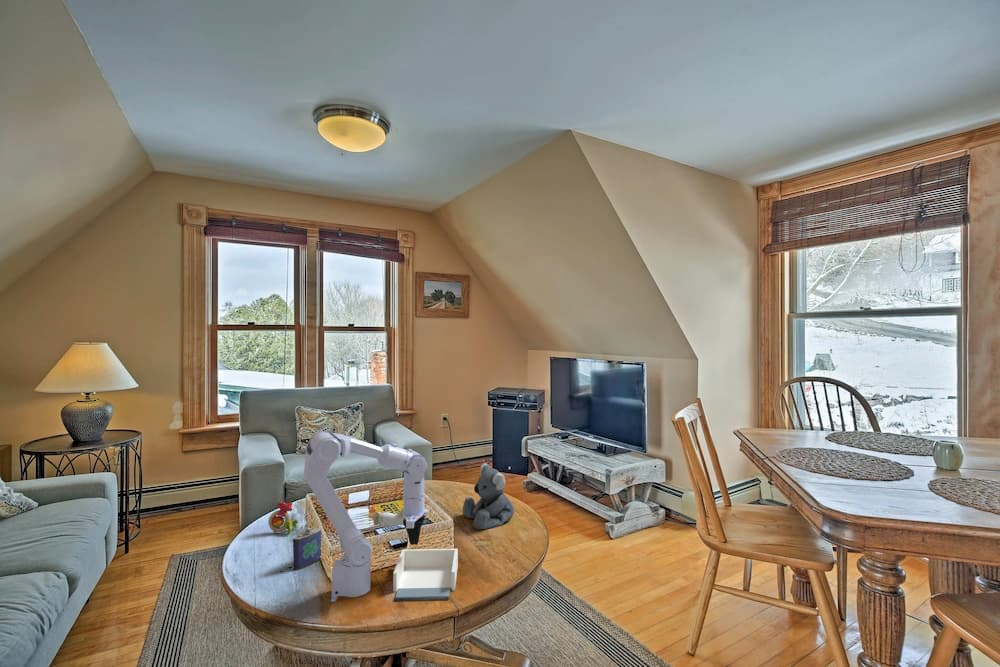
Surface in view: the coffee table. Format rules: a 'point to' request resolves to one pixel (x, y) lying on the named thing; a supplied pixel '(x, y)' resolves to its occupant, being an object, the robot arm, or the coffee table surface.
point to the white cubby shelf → (426, 569)
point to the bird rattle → (278, 521)
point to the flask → (307, 548)
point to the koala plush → (489, 500)
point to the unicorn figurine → (389, 518)
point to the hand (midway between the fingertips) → (414, 543)
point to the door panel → (422, 594)
